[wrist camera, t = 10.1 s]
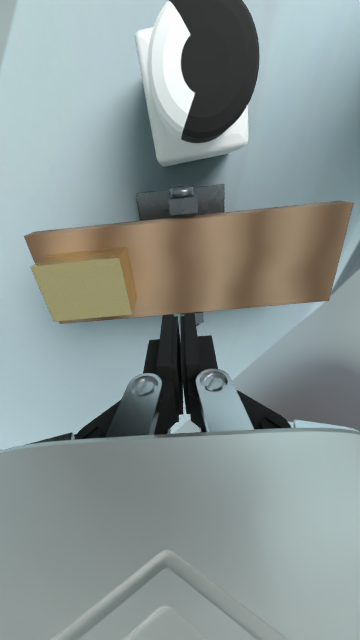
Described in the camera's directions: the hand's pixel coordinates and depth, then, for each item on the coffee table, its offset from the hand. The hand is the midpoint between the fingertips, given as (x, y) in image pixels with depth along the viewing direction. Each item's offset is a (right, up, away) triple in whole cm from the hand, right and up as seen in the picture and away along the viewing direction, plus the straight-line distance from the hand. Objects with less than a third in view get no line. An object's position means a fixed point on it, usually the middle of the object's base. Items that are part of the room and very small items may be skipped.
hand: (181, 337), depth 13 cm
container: (+1, +22, +12) cm, 25 cm away
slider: (-8, +5, +10) cm, 14 cm away
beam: (+1, +7, +11) cm, 13 cm away
